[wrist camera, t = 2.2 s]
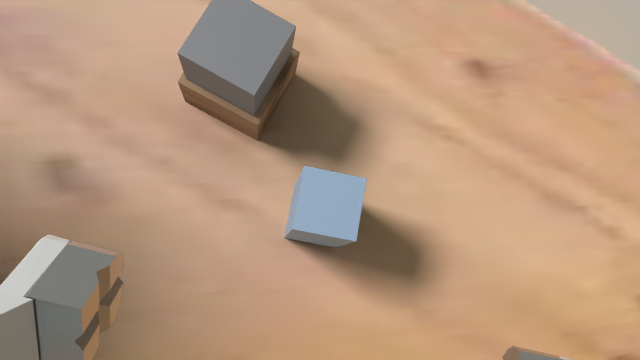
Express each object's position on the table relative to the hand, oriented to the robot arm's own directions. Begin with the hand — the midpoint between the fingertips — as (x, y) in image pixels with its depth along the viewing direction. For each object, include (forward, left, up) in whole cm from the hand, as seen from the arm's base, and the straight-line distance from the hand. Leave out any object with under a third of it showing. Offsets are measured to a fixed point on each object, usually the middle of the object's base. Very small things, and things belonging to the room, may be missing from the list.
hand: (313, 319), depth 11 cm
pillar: (+7, -1, -34) cm, 35 cm away
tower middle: (+14, +10, -29) cm, 34 cm away
